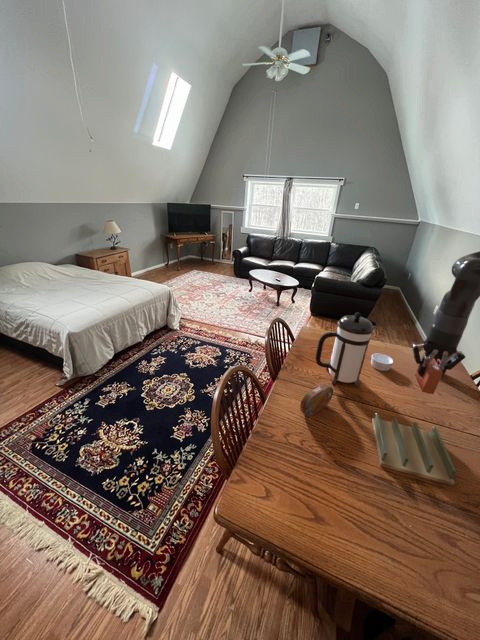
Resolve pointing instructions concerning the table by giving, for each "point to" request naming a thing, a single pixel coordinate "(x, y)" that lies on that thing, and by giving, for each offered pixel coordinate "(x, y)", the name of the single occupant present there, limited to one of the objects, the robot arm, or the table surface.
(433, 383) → the block
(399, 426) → the rack
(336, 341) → the coffee press
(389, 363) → the ramekin
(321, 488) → the table surface
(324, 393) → the brown flat oval slab
